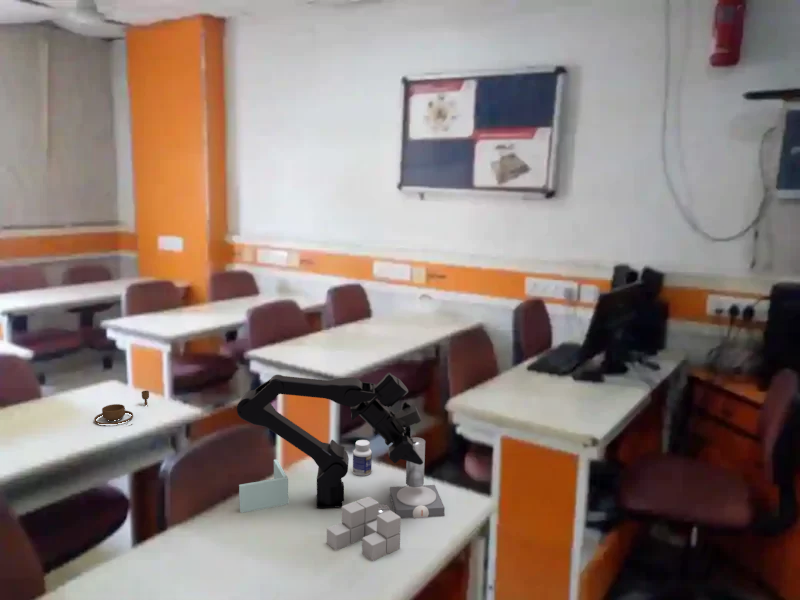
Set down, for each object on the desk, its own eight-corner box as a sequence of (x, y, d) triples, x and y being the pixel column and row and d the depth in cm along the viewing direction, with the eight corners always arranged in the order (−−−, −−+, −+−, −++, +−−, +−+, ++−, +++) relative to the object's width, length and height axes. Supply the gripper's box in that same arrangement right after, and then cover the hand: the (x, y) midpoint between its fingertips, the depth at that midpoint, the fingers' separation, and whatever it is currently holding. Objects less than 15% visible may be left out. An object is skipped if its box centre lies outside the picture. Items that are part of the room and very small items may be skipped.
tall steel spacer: (407, 487, 164) (408, 445, 162) (404, 479, 168) (405, 437, 166) (425, 486, 165) (426, 444, 162) (421, 478, 169) (423, 437, 167)
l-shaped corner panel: (277, 485, 176) (276, 459, 174) (288, 505, 165) (288, 478, 163) (232, 493, 171) (231, 466, 169) (240, 514, 160) (239, 486, 159)
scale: (396, 522, 159) (396, 507, 158) (389, 498, 171) (390, 483, 170) (444, 519, 160) (445, 505, 160) (434, 495, 172) (434, 481, 172)
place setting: (88, 417, 221) (87, 400, 219) (148, 405, 233) (147, 389, 232) (102, 433, 207) (100, 416, 206) (164, 420, 219) (164, 403, 218)
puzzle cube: (326, 543, 148) (326, 511, 146) (368, 526, 155) (369, 495, 154) (357, 568, 139) (357, 534, 137) (400, 549, 146) (401, 516, 145)
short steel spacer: (372, 525, 156) (372, 513, 155) (370, 515, 160) (370, 504, 159) (390, 524, 156) (390, 512, 156) (387, 514, 161) (388, 503, 160)
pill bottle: (368, 477, 180) (369, 447, 178) (350, 475, 181) (350, 445, 179) (373, 469, 185) (373, 439, 183) (355, 467, 186) (356, 438, 184)
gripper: (404, 410, 153) (449, 454, 155) (400, 384, 171) (439, 424, 174) (370, 441, 154) (415, 484, 156) (369, 412, 172) (409, 451, 175)
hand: (421, 459), depth 165 cm, fingers closed on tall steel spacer, 5 cm apart
